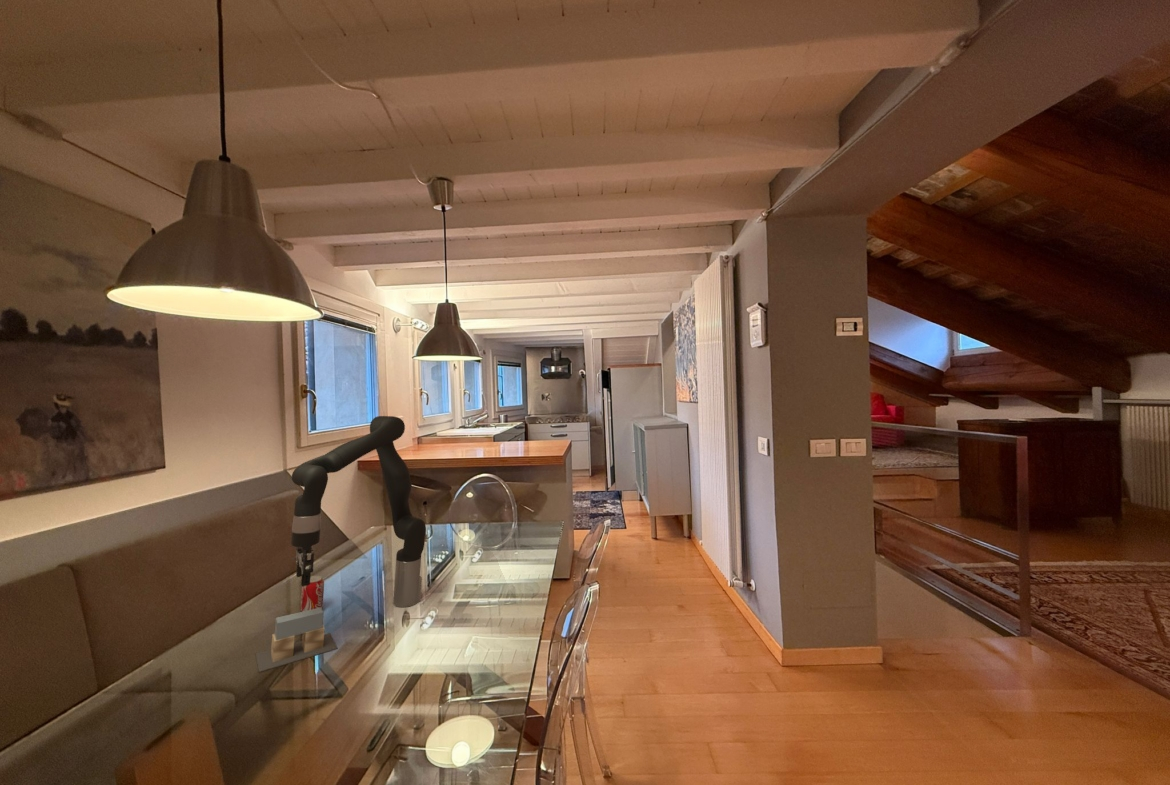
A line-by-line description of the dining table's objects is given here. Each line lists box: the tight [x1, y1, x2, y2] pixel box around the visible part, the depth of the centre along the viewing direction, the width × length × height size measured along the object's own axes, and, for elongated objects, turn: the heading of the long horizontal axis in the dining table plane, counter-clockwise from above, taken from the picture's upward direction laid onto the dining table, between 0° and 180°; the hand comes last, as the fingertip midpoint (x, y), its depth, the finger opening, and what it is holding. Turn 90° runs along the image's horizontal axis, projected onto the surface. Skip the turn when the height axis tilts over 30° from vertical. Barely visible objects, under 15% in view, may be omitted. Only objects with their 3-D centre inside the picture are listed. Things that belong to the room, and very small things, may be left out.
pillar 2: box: [301, 625, 325, 653], centre depth 136 cm, size 5×5×6 cm
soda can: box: [299, 575, 325, 612], centre depth 158 cm, size 7×7×12 cm
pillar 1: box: [270, 633, 295, 662], centre depth 131 cm, size 5×5×6 cm
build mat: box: [254, 632, 339, 674], centre depth 133 cm, size 20×11×1 cm, turn 132°
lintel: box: [274, 607, 325, 640], centre depth 133 cm, size 12×4×5 cm, turn 132°
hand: (302, 580), depth 134 cm, fingers open, 8 cm apart
